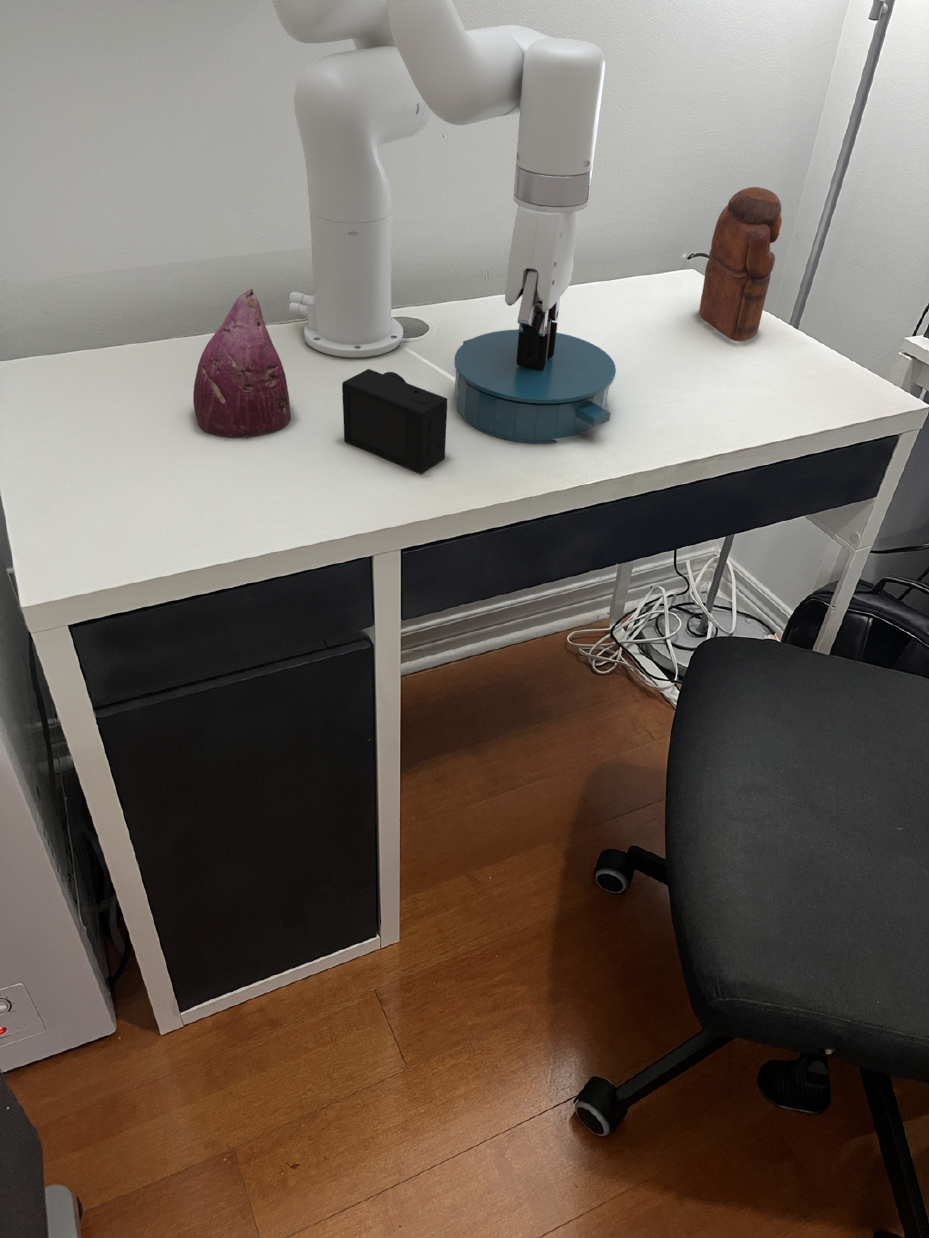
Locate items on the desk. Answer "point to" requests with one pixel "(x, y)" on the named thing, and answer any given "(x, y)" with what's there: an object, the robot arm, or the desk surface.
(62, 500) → the desk surface
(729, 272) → the wooden figurine
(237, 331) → the vegetable
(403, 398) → the digital camera
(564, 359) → the tin lid
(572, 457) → the desk surface
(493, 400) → the tin
